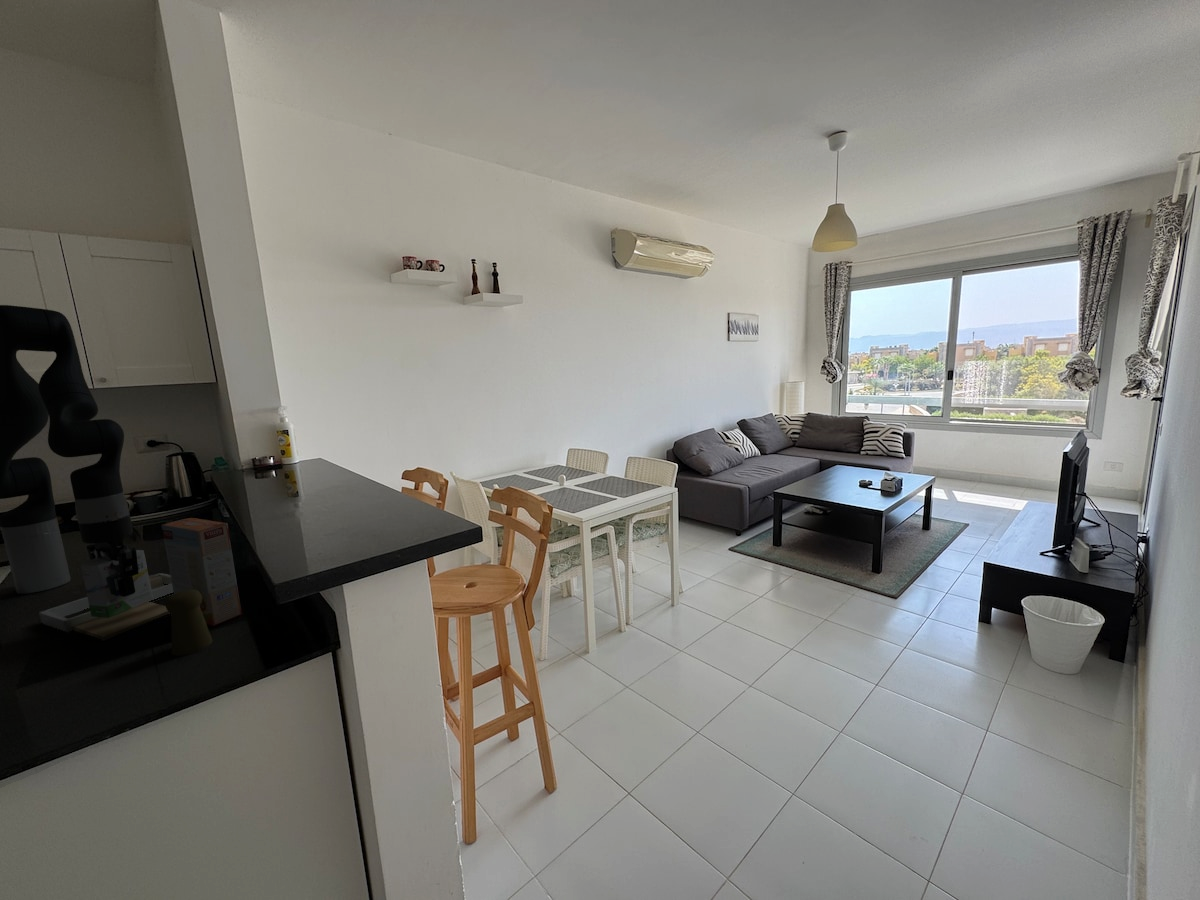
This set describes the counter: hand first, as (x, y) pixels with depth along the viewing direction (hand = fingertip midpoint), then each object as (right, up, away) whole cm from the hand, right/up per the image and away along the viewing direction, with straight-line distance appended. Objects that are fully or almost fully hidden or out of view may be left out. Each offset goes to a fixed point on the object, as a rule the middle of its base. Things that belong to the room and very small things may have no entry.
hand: (120, 592), depth 102 cm
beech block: (-7, -5, +14) cm, 17 cm away
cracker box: (+17, -6, +3) cm, 18 cm away
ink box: (0, -4, +1) cm, 4 cm away
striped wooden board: (0, -7, +1) cm, 7 cm away
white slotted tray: (-9, -6, +9) cm, 14 cm away
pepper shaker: (+24, -8, -10) cm, 27 cm away
